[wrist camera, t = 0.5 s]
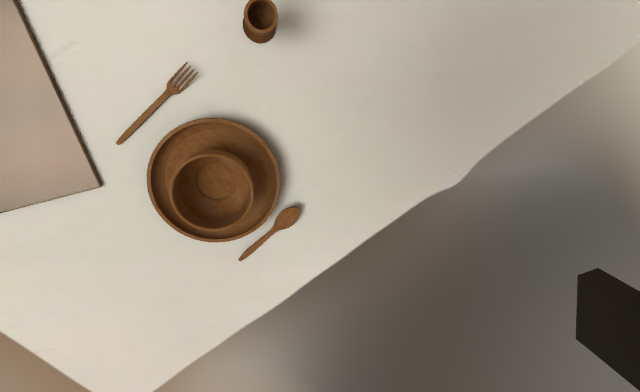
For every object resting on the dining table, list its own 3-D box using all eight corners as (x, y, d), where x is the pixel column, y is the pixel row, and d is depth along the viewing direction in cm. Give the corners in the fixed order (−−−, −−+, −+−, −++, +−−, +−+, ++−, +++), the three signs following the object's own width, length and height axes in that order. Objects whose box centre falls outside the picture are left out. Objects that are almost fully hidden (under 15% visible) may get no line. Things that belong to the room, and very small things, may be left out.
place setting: (94, 155, 32) (62, 171, 27) (254, -6, 31) (255, -24, 25) (238, 271, 38) (235, 304, 33) (377, 143, 37) (400, 154, 31)
